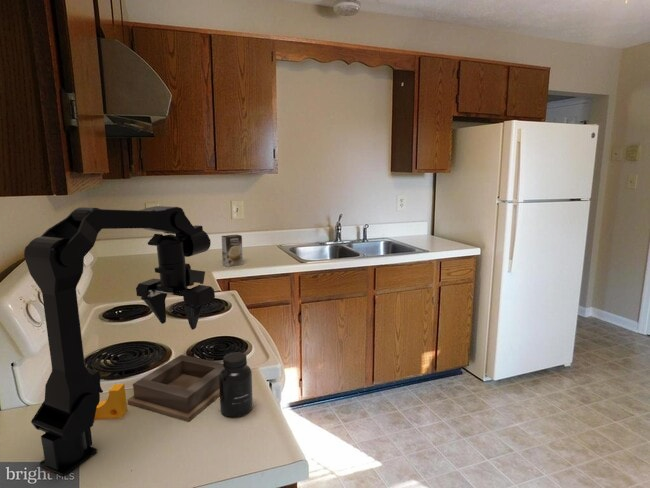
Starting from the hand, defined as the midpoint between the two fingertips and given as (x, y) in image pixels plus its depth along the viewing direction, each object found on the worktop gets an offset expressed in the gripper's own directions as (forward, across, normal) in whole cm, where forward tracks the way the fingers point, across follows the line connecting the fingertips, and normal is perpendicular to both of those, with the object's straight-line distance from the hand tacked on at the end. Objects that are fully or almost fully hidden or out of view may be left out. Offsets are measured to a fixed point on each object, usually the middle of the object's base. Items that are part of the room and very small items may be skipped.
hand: (178, 325), depth 93 cm
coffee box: (+17, +63, -104) cm, 123 cm away
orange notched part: (+15, +7, +18) cm, 25 cm away
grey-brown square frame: (+14, -3, +3) cm, 15 cm away
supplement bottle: (+15, -18, +4) cm, 24 cm away
